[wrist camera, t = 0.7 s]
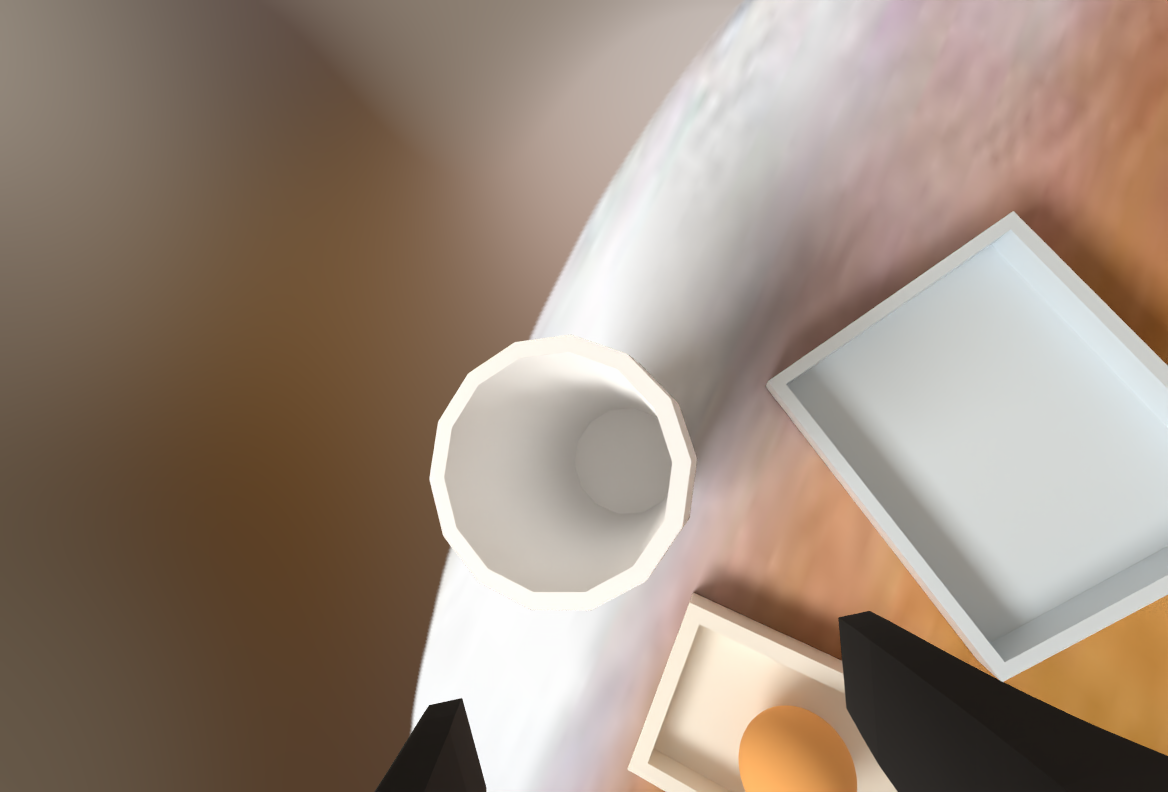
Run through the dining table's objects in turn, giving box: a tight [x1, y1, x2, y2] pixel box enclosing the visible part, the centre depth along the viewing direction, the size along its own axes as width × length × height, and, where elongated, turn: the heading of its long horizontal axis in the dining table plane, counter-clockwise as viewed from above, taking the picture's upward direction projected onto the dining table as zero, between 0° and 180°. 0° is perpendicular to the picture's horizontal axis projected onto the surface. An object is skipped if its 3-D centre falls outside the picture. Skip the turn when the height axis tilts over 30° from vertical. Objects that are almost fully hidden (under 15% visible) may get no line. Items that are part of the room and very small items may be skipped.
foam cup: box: [430, 335, 697, 610], centre depth 25 cm, size 10×9×13 cm
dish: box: [628, 593, 897, 792], centre depth 27 cm, size 14×9×2 cm
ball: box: [738, 705, 857, 792], centre depth 25 cm, size 5×5×5 cm
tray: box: [766, 211, 1168, 682], centre depth 25 cm, size 16×13×3 cm
